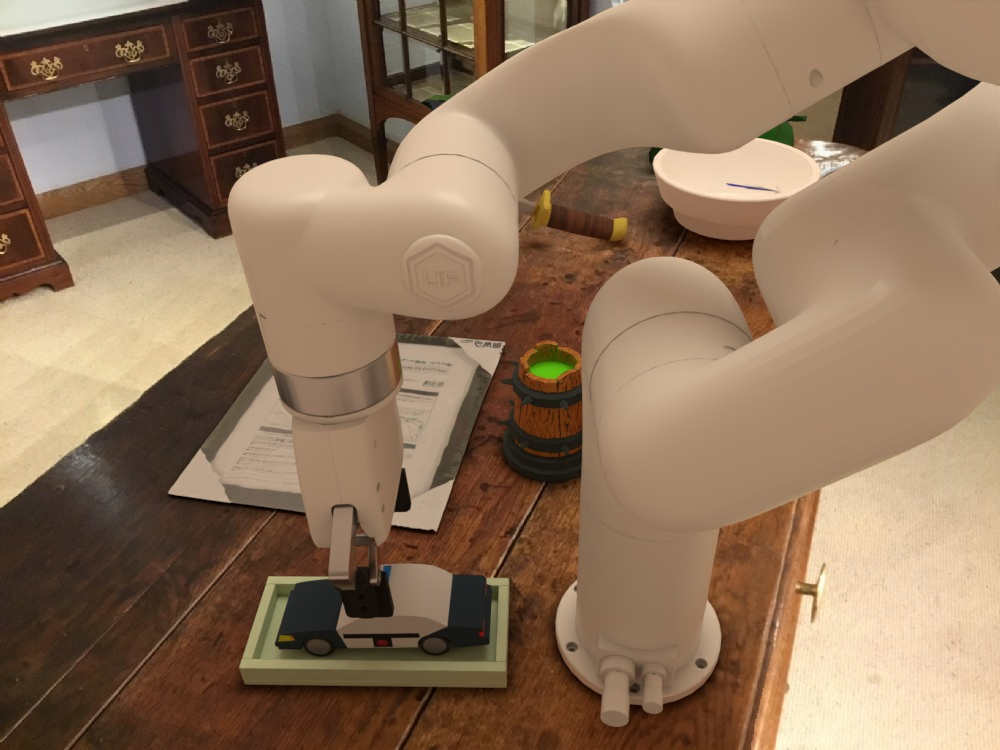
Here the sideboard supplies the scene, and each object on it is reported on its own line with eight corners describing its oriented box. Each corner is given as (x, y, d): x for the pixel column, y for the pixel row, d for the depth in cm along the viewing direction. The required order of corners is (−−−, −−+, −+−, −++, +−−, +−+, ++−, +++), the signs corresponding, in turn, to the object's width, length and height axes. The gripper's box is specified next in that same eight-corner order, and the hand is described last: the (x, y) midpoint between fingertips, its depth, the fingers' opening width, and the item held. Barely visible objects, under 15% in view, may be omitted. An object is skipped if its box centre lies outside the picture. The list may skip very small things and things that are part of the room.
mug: (478, 457, 83) (473, 360, 76) (538, 403, 90) (538, 310, 83) (592, 512, 77) (597, 413, 70) (647, 451, 83) (657, 354, 76)
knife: (618, 250, 118) (405, 204, 113) (619, 229, 120) (408, 183, 115) (632, 227, 114) (410, 179, 109) (632, 207, 115) (414, 158, 110)
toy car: (294, 605, 69) (282, 561, 66) (493, 602, 68) (489, 558, 65) (279, 657, 65) (265, 613, 62) (490, 655, 64) (486, 610, 61)
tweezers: (818, 190, 108) (817, 195, 108) (723, 174, 112) (723, 178, 112) (815, 200, 107) (814, 204, 108) (720, 183, 111) (719, 187, 112)
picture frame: (164, 493, 80) (291, 321, 103) (165, 496, 80) (292, 324, 103) (437, 530, 75) (505, 340, 98) (437, 533, 75) (505, 343, 98)
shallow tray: (506, 688, 63) (505, 671, 61) (244, 684, 64) (238, 667, 62) (509, 594, 70) (508, 577, 68) (273, 592, 71) (268, 575, 69)
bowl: (782, 273, 110) (793, 213, 105) (622, 234, 119) (626, 178, 114) (828, 206, 125) (840, 151, 120) (683, 176, 135) (688, 125, 130)
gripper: (307, 293, 58) (351, 476, 68) (236, 466, 44) (304, 663, 54) (416, 288, 58) (443, 474, 68) (378, 461, 44) (420, 662, 54)
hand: (381, 558), depth 61 cm, fingers open, 9 cm apart
